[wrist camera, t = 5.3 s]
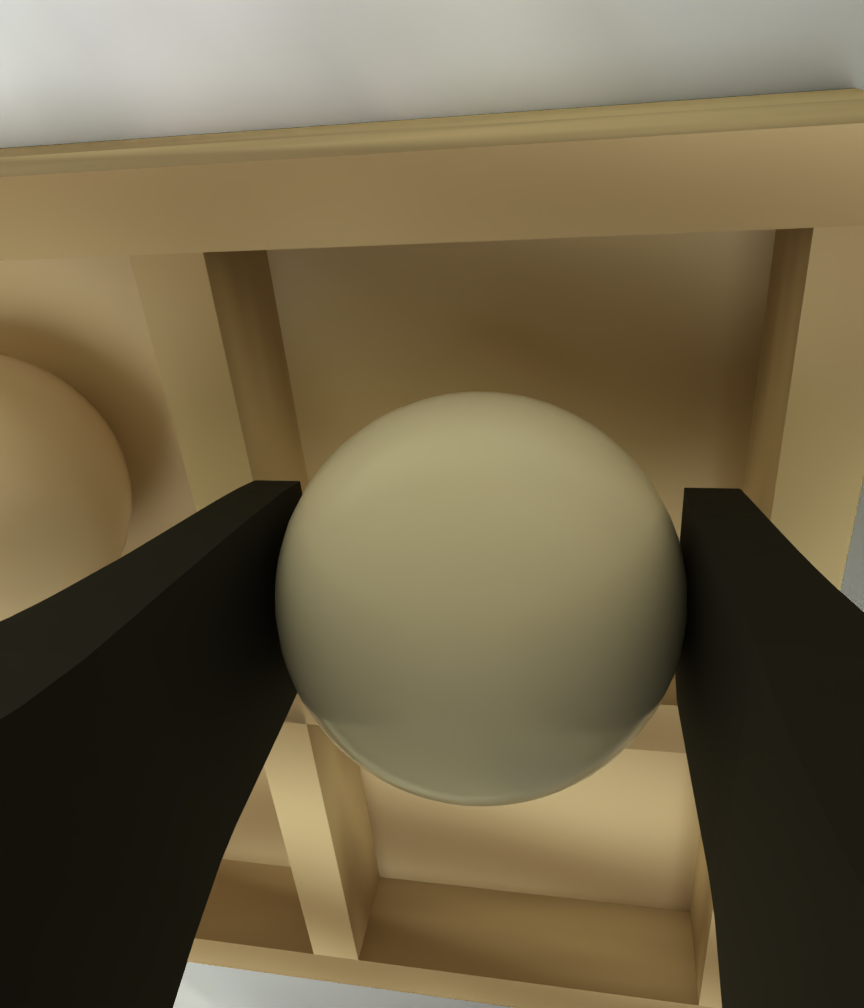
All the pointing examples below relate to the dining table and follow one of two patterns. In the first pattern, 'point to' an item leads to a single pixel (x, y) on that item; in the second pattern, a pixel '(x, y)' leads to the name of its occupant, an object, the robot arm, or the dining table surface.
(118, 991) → the robot arm
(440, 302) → the egg rack
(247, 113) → the dining table surface
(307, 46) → the dining table surface
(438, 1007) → the dining table surface
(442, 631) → the white egg
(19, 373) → the tan ball
